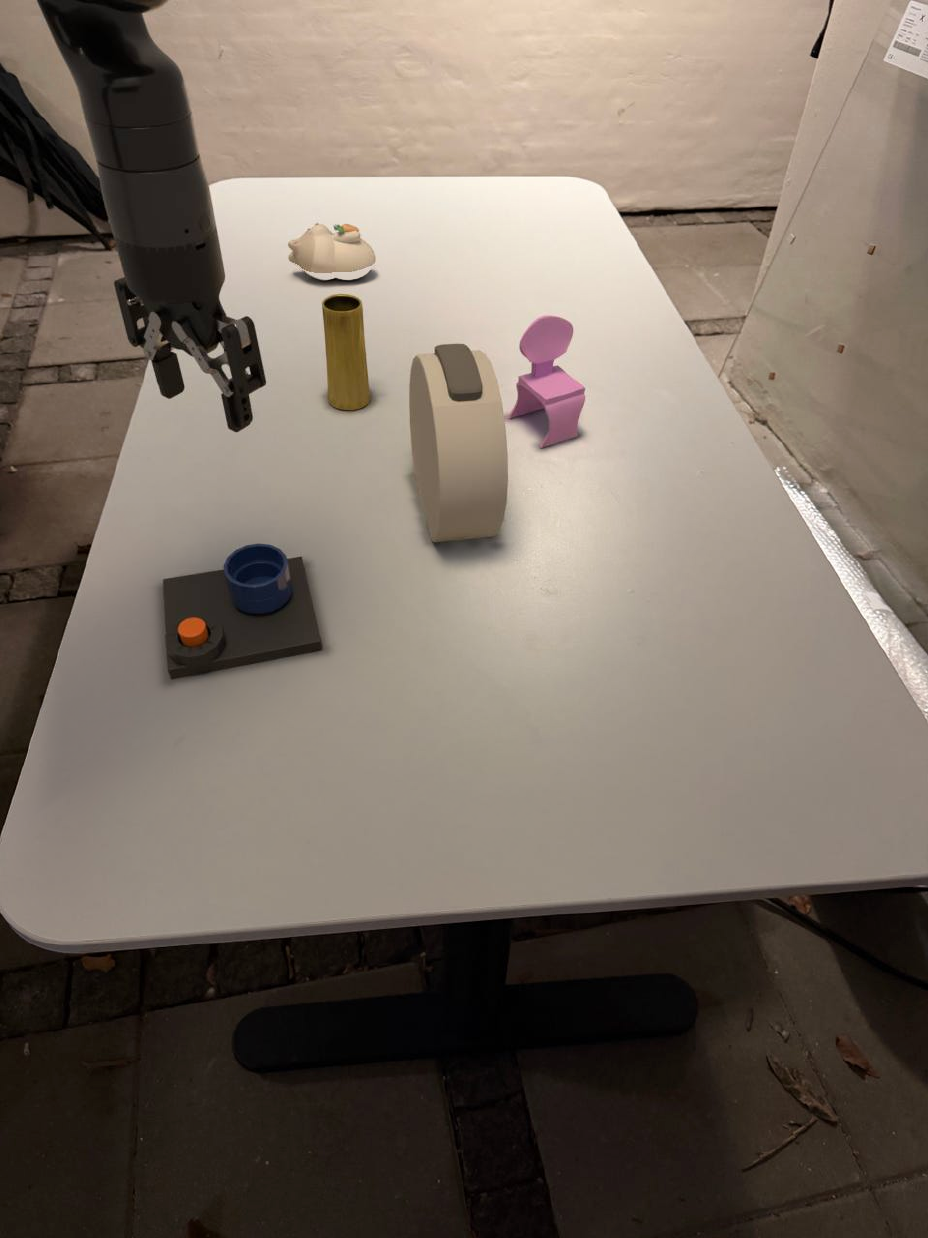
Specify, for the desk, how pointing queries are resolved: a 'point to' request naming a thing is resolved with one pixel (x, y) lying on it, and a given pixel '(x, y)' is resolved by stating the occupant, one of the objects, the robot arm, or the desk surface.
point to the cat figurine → (331, 250)
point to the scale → (235, 624)
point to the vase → (345, 352)
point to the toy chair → (549, 379)
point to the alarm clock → (458, 443)
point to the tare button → (193, 632)
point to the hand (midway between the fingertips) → (206, 410)
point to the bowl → (258, 578)
